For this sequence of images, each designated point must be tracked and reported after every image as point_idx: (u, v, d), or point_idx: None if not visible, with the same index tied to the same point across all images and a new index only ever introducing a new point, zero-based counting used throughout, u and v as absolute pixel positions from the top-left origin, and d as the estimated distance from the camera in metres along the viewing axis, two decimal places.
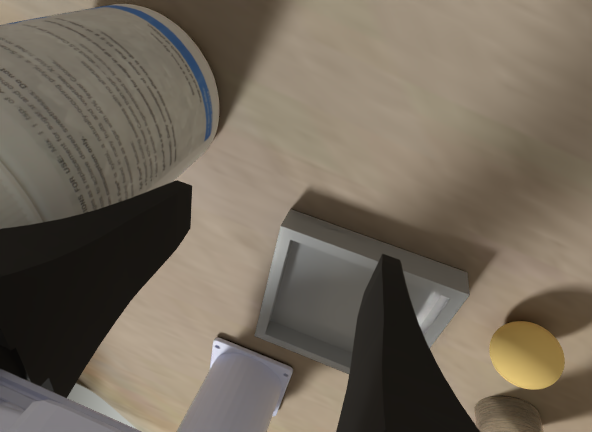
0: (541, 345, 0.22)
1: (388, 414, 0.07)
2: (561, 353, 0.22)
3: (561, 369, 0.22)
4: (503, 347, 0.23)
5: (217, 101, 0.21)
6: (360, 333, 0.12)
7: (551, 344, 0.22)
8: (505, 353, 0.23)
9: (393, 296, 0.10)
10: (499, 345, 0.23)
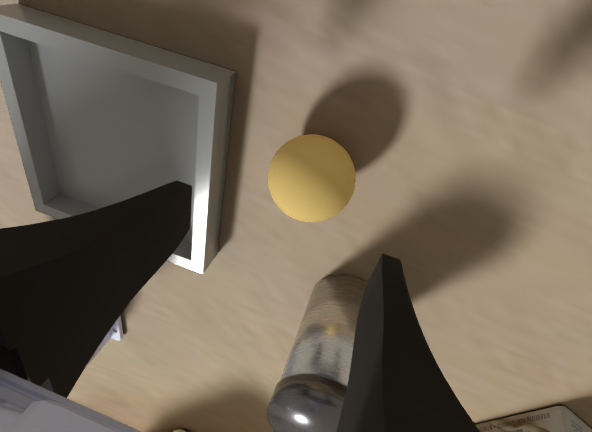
0: (311, 147, 0.16)
1: (388, 414, 0.07)
2: (342, 161, 0.16)
3: (340, 181, 0.16)
4: (272, 162, 0.17)
5: None
6: (360, 333, 0.12)
7: (327, 148, 0.16)
8: (272, 168, 0.17)
9: (393, 296, 0.10)
10: (271, 162, 0.17)
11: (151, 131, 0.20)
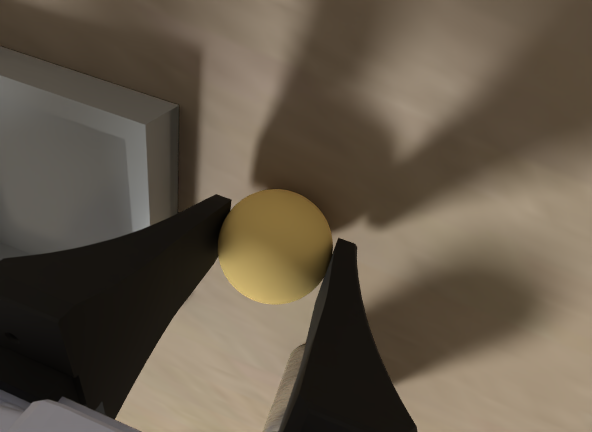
0: (269, 213, 0.12)
1: (306, 381, 0.07)
2: (313, 231, 0.12)
3: (309, 259, 0.12)
4: (222, 227, 0.13)
5: None
6: (314, 315, 0.12)
7: (292, 213, 0.12)
8: (221, 236, 0.12)
9: (340, 277, 0.11)
10: None
11: (82, 174, 0.16)
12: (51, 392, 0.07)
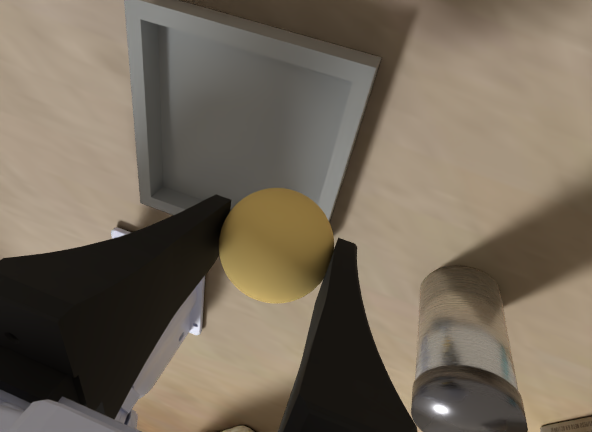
0: (270, 212, 0.12)
1: (306, 381, 0.07)
2: (314, 230, 0.12)
3: (310, 258, 0.12)
4: (223, 226, 0.13)
5: None
6: (314, 315, 0.12)
7: (293, 212, 0.12)
8: (222, 235, 0.12)
9: (340, 277, 0.11)
10: (223, 224, 0.13)
11: (278, 120, 0.20)
12: (51, 392, 0.07)
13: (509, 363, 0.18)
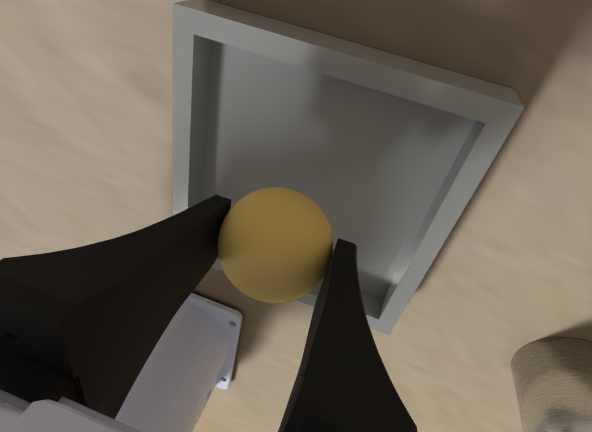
0: (269, 211, 0.12)
1: (306, 381, 0.07)
2: (313, 229, 0.12)
3: (309, 257, 0.12)
4: (222, 225, 0.13)
5: None
6: (314, 315, 0.12)
7: (292, 211, 0.12)
8: (221, 234, 0.12)
9: (340, 277, 0.11)
10: None
11: (359, 163, 0.16)
12: (51, 392, 0.07)
13: None
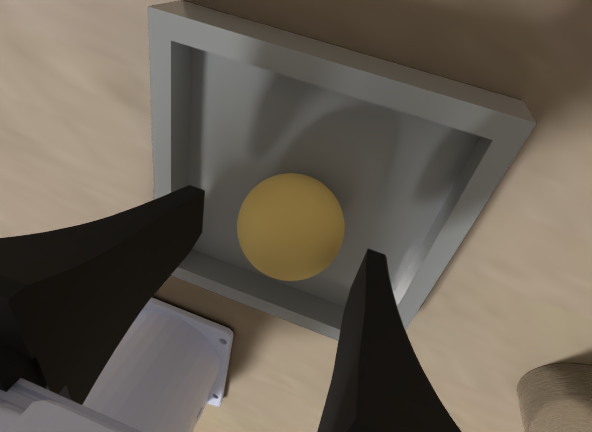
0: (289, 194, 0.13)
1: (361, 403, 0.07)
2: (329, 209, 0.13)
3: (328, 235, 0.13)
4: (241, 211, 0.13)
5: None
6: (345, 327, 0.12)
7: (309, 193, 0.13)
8: (242, 220, 0.13)
9: (375, 289, 0.11)
10: (240, 211, 0.14)
11: (354, 178, 0.15)
12: (7, 372, 0.08)
13: None
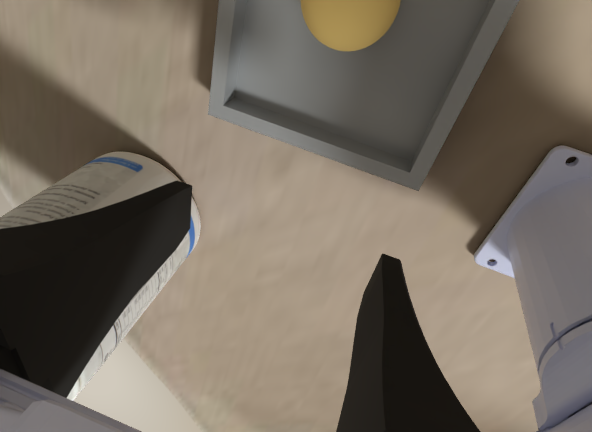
0: None
1: (388, 414, 0.07)
2: None
3: None
4: (320, 21, 0.14)
5: (126, 153, 0.25)
6: (360, 333, 0.12)
7: None
8: (323, 14, 0.14)
9: (393, 296, 0.10)
10: (323, 30, 0.15)
11: None
12: None
13: None
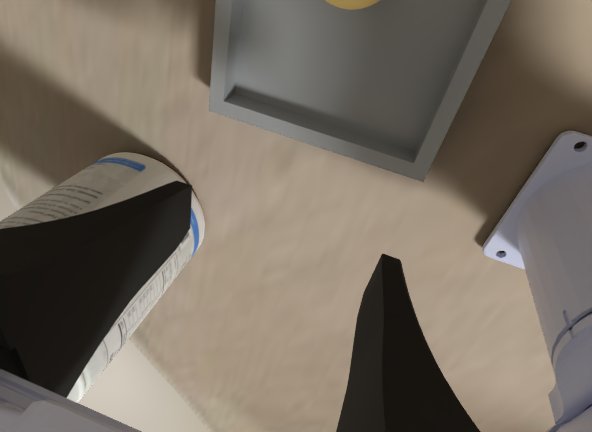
0: None
1: (388, 414, 0.07)
2: None
3: None
4: None
5: (128, 153, 0.26)
6: (360, 333, 0.12)
7: None
8: None
9: (393, 296, 0.10)
10: None
11: None
12: None
13: None
